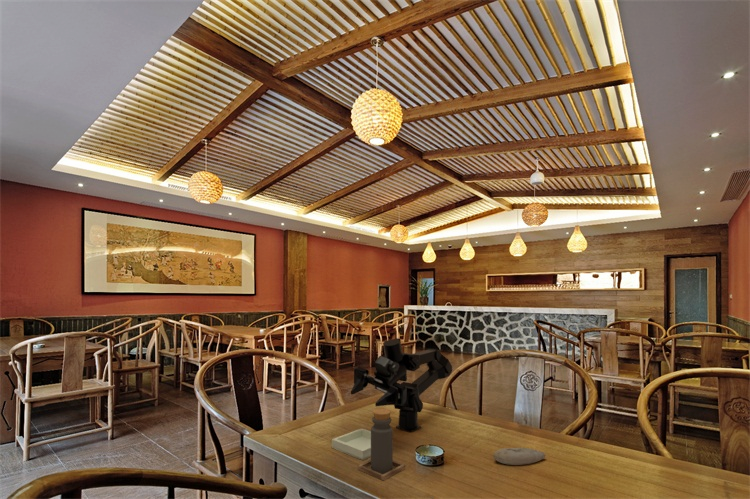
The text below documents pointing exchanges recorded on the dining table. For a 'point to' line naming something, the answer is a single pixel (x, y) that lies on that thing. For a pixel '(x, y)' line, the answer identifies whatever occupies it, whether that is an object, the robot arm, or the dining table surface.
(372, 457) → the bottle
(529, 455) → the decorative stone
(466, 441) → the dining table surface
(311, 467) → the dining table surface
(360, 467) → the seat frame
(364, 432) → the tray
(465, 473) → the dining table surface
